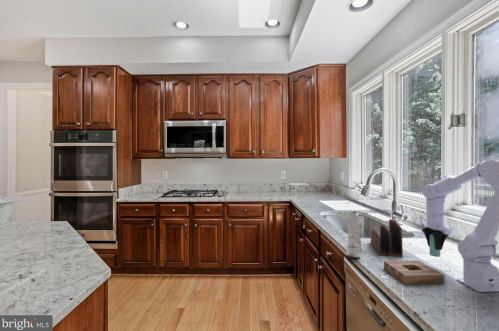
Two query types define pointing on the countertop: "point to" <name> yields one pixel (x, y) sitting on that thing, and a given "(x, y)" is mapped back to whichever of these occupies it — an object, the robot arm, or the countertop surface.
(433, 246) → the peg
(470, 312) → the countertop surface
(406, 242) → the countertop surface
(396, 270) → the socket block
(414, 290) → the countertop surface
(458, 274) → the countertop surface
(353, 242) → the plastic bottle
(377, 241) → the letter holder
